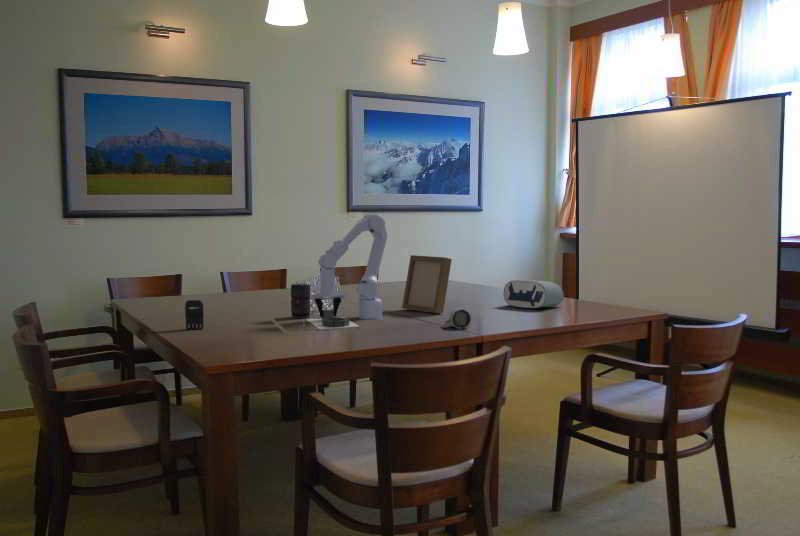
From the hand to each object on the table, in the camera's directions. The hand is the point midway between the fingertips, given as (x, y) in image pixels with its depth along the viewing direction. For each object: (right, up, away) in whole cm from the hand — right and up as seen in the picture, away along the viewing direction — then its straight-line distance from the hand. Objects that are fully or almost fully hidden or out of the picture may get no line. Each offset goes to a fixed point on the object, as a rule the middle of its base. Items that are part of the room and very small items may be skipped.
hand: (328, 316), depth 278 cm
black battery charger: (-50, -4, -15) cm, 52 cm away
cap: (0, -1, 0) cm, 1 cm away
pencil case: (+92, +1, +45) cm, 103 cm away
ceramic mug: (+51, -4, -13) cm, 53 cm away
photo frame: (+43, 0, +32) cm, 54 cm away
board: (+2, -3, -6) cm, 7 cm away
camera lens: (-12, -2, +8) cm, 14 cm away
